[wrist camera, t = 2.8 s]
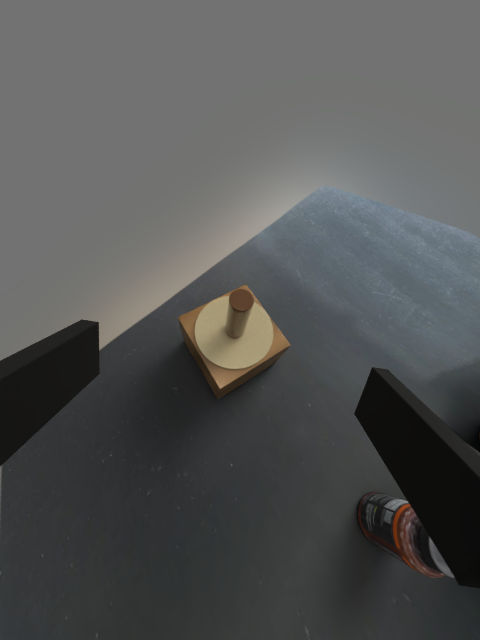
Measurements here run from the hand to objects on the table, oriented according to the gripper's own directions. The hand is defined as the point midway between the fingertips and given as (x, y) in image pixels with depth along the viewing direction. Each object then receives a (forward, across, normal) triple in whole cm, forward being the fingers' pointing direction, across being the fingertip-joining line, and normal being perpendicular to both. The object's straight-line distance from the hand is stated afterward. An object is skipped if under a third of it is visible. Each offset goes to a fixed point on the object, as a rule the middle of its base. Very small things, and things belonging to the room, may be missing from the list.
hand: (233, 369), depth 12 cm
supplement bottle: (+13, +23, -26) cm, 38 cm away
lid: (+20, 0, -6) cm, 21 cm away
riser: (+27, 0, -12) cm, 29 cm away
